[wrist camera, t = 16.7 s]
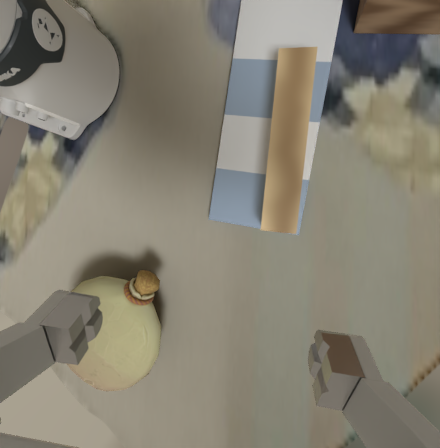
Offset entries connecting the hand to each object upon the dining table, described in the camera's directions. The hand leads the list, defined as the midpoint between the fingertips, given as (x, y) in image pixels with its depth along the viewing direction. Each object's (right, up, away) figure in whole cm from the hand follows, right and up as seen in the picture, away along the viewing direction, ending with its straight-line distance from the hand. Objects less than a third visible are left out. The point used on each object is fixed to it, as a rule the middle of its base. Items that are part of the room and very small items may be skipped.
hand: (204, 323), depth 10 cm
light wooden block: (+9, +13, +23) cm, 28 cm away
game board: (+7, +17, +24) cm, 31 cm away
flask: (-13, -10, +31) cm, 35 cm away
